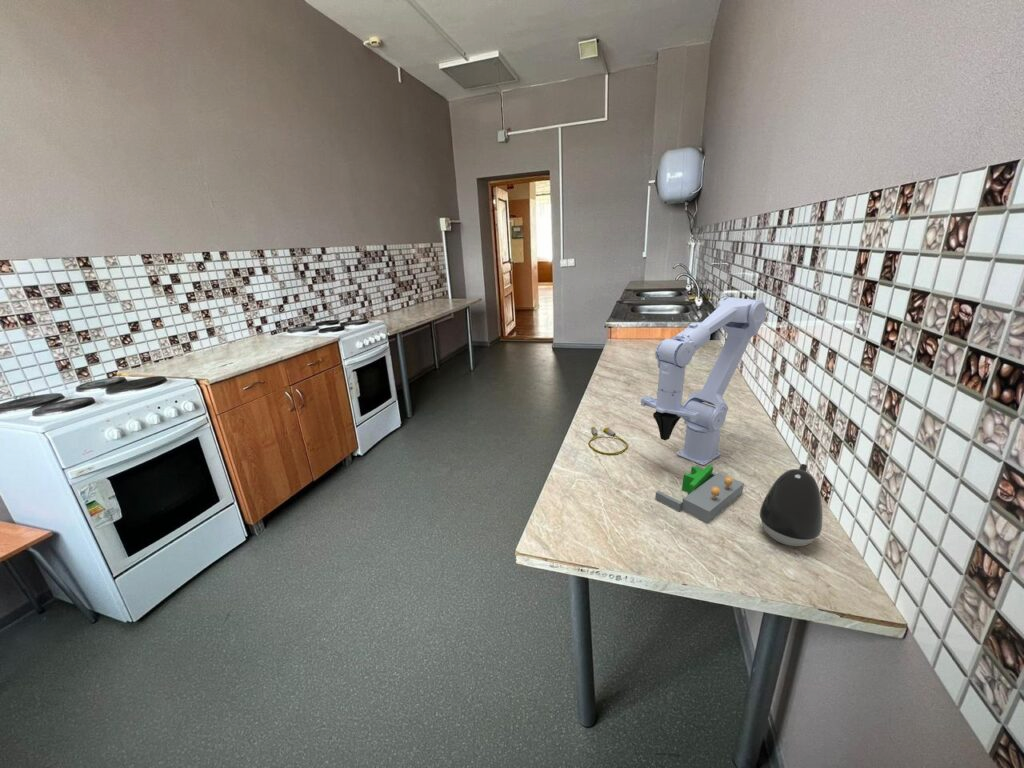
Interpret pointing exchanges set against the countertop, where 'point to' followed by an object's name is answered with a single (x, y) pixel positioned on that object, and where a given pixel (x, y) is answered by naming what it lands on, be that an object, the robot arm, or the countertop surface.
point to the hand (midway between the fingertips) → (665, 438)
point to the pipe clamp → (696, 478)
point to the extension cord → (609, 432)
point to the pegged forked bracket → (706, 497)
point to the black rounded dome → (793, 508)
